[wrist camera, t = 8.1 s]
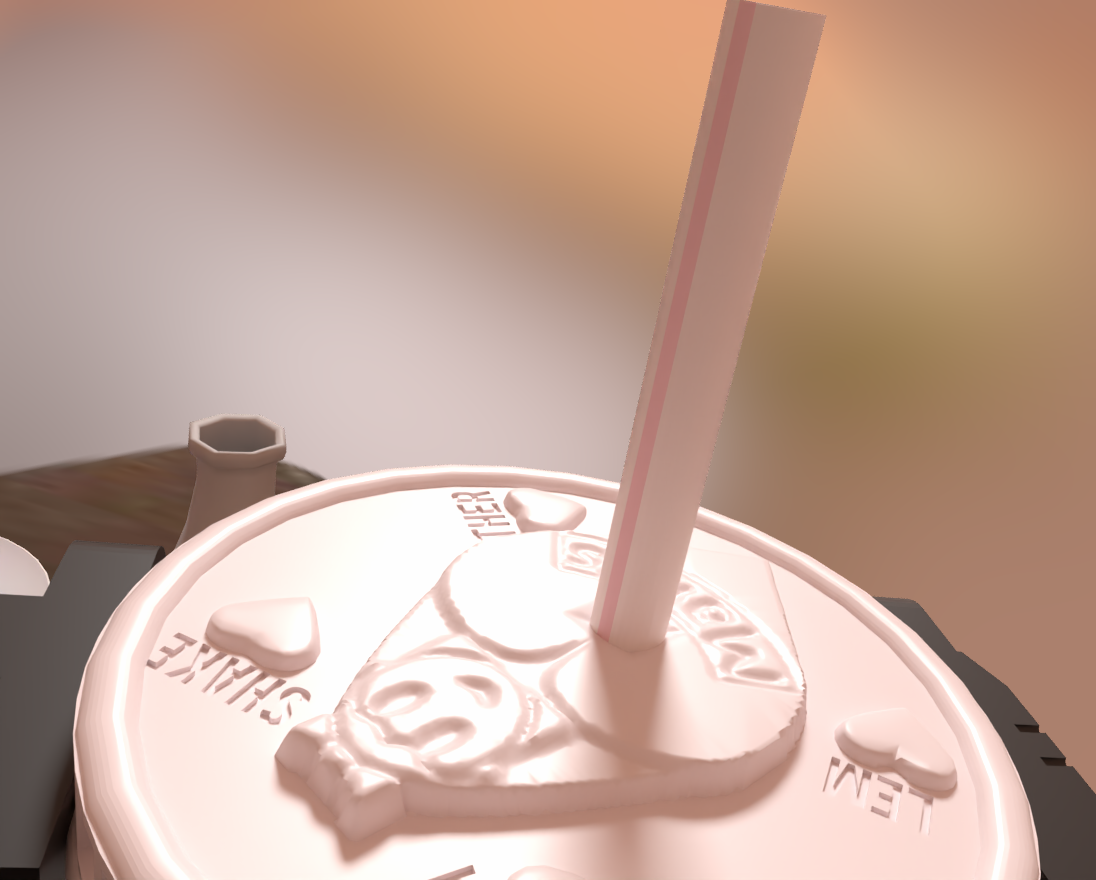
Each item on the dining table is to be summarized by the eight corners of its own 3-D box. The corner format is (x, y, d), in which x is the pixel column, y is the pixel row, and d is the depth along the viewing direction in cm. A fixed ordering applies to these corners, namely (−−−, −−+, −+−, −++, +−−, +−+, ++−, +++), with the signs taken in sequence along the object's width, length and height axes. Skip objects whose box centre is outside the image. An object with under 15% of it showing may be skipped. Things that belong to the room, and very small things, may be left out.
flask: (153, 768, 34) (156, 501, 30) (99, 641, 39) (94, 398, 35) (358, 710, 38) (385, 468, 34) (285, 602, 43) (300, 380, 39)
